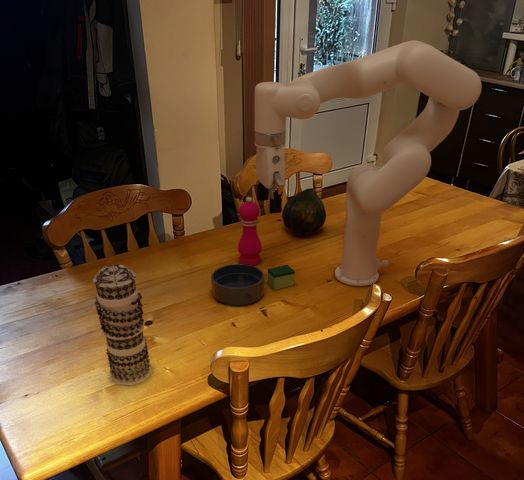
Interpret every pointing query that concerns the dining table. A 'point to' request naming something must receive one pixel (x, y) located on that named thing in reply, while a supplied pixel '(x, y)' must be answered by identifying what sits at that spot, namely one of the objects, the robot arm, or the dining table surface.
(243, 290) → the bowl
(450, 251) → the dining table surface
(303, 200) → the squash
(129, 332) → the decorative candle
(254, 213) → the pepper mill
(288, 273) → the sponge
